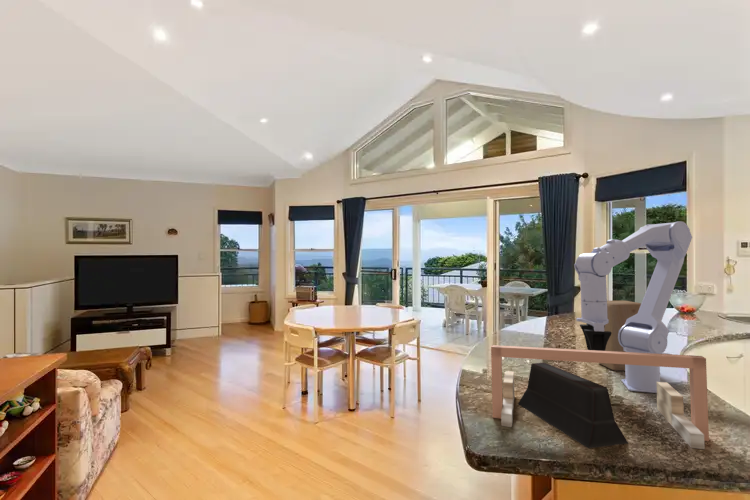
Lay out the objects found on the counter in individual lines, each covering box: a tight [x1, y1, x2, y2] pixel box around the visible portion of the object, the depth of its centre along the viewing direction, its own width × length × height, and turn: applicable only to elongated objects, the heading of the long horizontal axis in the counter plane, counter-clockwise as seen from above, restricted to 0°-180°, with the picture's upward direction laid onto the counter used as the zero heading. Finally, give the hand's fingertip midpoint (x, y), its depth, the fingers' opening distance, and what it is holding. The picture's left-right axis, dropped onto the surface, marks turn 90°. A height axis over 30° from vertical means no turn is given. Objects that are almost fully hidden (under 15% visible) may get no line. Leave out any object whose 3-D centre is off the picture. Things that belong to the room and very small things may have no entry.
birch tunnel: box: [500, 370, 705, 450], centre depth 88 cm, size 20×34×6 cm, turn 70°
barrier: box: [517, 362, 629, 449], centre depth 86 cm, size 24×9×10 cm, turn 11°
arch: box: [490, 344, 710, 442], centre depth 83 cm, size 2×38×15 cm, turn 70°
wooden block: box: [598, 300, 642, 372], centre depth 128 cm, size 10×10×20 cm
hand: (595, 356), depth 103 cm, fingers open, 7 cm apart
